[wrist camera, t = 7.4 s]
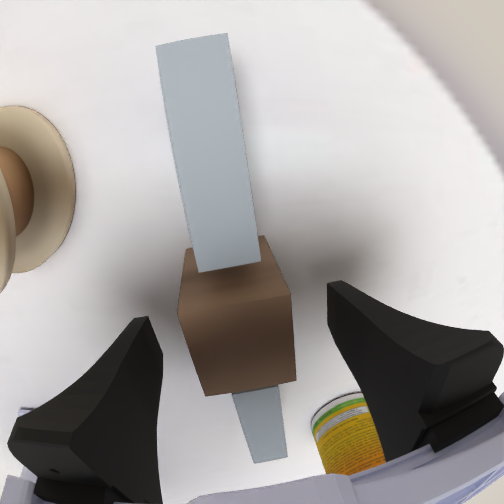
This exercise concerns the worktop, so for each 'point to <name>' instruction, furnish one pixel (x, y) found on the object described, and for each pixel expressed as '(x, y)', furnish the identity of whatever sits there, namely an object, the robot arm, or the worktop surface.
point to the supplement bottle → (347, 436)
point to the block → (238, 324)
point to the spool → (32, 191)
